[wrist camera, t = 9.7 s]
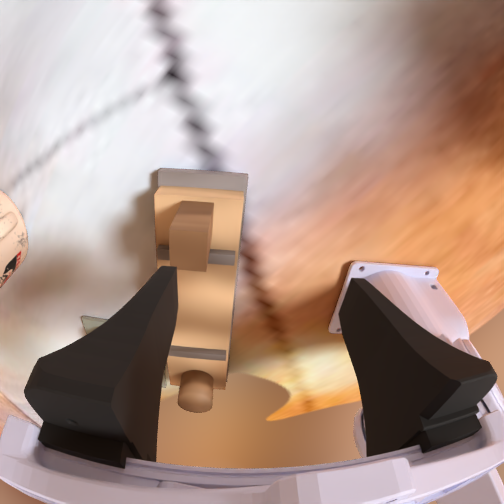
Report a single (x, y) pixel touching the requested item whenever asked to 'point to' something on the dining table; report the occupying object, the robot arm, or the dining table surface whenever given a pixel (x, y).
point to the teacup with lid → (11, 238)
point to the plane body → (200, 274)
